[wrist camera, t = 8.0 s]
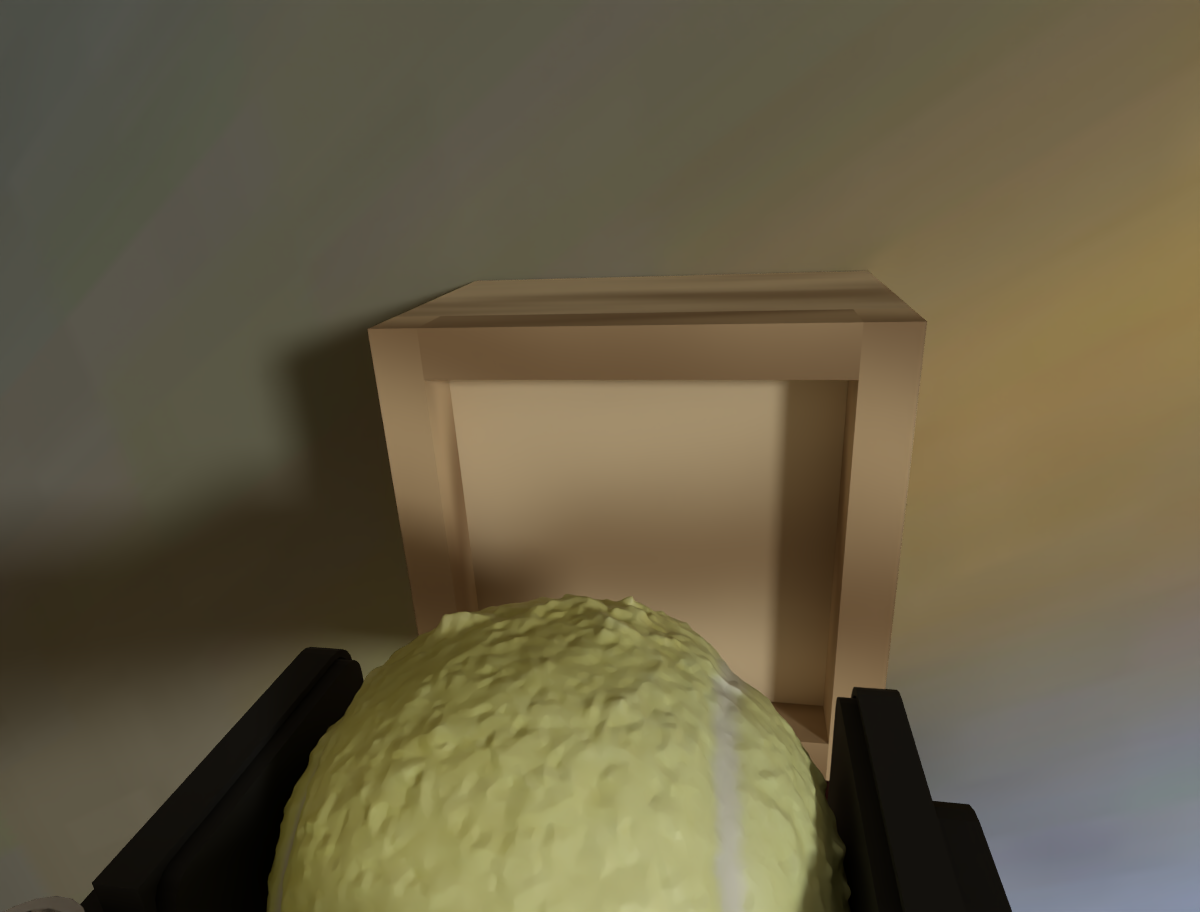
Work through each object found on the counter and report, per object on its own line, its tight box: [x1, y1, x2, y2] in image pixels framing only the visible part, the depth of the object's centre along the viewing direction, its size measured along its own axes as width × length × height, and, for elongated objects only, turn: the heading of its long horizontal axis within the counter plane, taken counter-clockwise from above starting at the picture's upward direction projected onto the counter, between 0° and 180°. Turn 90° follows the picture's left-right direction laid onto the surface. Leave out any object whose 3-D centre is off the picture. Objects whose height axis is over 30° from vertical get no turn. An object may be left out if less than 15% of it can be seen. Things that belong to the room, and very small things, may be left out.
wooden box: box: [368, 271, 927, 781], centre depth 18 cm, size 10×10×6 cm
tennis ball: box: [267, 594, 851, 912], centre depth 9 cm, size 6×7×7 cm
